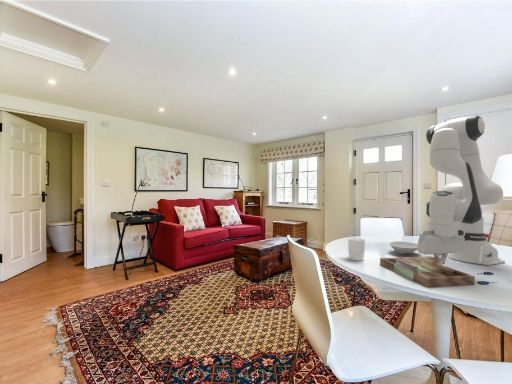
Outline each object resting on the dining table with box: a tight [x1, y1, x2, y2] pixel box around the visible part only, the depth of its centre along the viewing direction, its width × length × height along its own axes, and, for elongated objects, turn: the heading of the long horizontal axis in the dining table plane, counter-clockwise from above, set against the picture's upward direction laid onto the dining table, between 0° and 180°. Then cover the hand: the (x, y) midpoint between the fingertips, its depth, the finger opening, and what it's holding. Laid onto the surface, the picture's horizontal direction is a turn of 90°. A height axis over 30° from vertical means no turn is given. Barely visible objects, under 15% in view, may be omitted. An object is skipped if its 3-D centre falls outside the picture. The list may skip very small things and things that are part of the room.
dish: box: [388, 240, 418, 255], centre depth 134 cm, size 18×14×5 cm
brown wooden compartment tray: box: [379, 256, 476, 288], centre depth 103 cm, size 20×26×6 cm
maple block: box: [420, 255, 443, 270], centre depth 101 cm, size 5×5×4 cm
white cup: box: [347, 236, 366, 262], centre depth 123 cm, size 8×8×10 cm
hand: (440, 263), depth 102 cm, fingers closed
